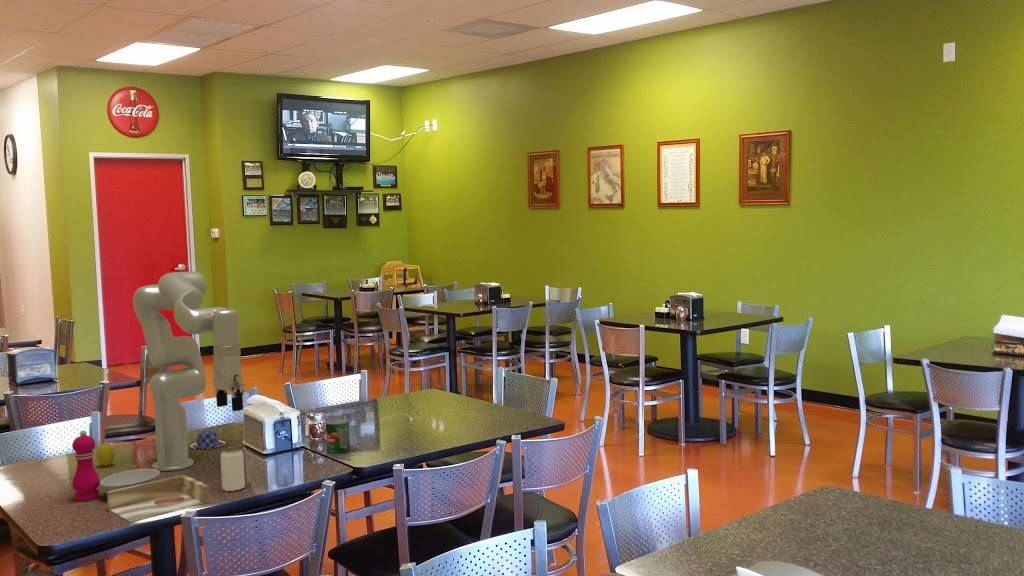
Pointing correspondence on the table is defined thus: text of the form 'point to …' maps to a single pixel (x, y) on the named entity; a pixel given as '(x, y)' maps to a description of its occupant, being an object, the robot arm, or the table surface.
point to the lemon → (105, 454)
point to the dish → (129, 478)
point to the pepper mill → (85, 469)
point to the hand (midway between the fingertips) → (229, 408)
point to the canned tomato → (337, 436)
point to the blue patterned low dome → (207, 440)
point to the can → (232, 469)
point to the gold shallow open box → (157, 497)
